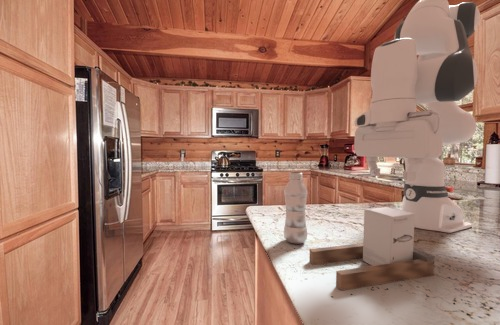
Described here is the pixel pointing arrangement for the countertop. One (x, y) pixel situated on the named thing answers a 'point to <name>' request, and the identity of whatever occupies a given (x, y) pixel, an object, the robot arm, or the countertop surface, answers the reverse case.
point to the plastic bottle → (295, 209)
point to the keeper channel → (372, 274)
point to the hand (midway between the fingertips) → (390, 177)
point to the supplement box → (388, 236)
